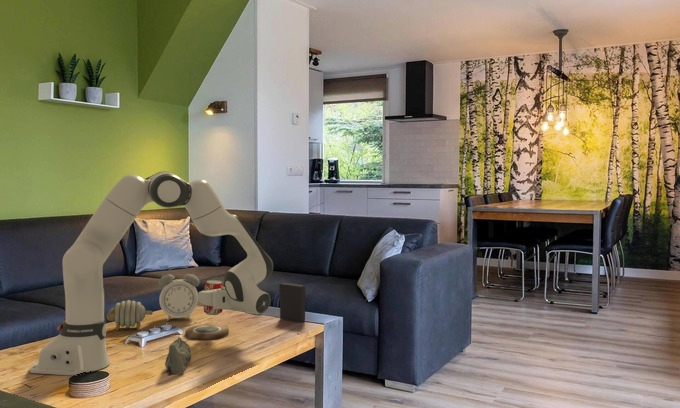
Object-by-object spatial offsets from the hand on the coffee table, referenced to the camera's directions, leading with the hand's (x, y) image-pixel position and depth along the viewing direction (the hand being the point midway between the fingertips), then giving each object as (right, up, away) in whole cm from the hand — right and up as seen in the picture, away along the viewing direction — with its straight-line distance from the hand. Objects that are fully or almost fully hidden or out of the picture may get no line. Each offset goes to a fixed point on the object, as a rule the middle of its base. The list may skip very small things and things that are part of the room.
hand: (212, 291), depth 218 cm
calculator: (+28, -16, +26) cm, 41 cm away
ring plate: (-3, -17, +3) cm, 17 cm away
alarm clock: (-19, -16, +25) cm, 35 cm away
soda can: (0, -8, 0) cm, 9 cm away
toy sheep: (-34, -16, +9) cm, 39 cm away
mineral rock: (-2, -19, -35) cm, 40 cm away
